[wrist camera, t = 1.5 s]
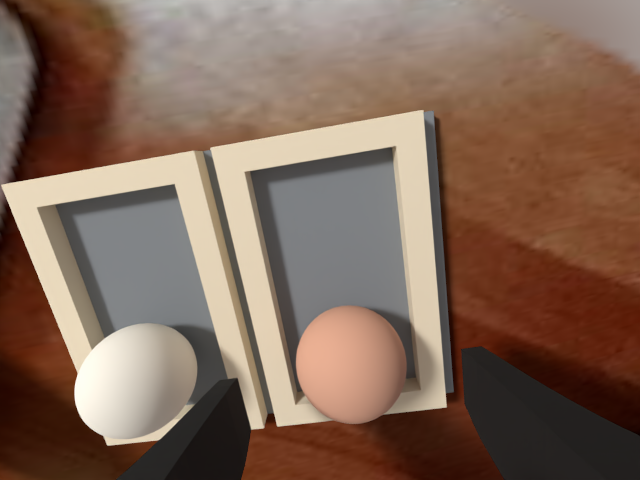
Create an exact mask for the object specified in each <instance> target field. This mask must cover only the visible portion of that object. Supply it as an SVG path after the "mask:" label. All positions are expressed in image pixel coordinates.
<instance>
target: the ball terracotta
mask: <svg viewBox="0 0 640 480" xmlns="http://www.w3.org/2000/svg"><path fill="white" fill-rule="evenodd" d="M296 369H297V376H298V380H299V383H300V386H301V388H302V390H303V393H304V394H305V396H306V397H307V399H308V400H309V402H310V403H311V404H312V405H313V406H314V407H315V408H316V409H317V410H318V411H319V412H320V413H322V414H323V415H325V416H326V417H328V418H330V419H333V420H335V421H338V422H342V423H347V424H360V423H365V422H369V421H372V420H374V419H376V418H378V417H380V416H381V415H383V414H384V413H386V412H387V411H388V410H389V409H390V408H391V407H392V406H393V404H394V403H395V402H396V401H397V399H398V397H399V396H400V394H401V391H402V389H403V387H404V383H405V379H406V371H407V363H406V355H405V350H404V347H403V344H402V341H401V340H400V338H399V336H398V334H397V332H396V331H395V329H394V328H393V327H392V326H391V324H390V323H389V322H388V321H387V320H386V319H384V318H383V317H382V316H381V315H379V314H377V313H376V312H374V311H372V310H370V309H367V308H364V307H360V306H351V305H347V306H339V307H335V308H332V309H329V310H327V311H325V312H323V313H322V314H320V315H319V316H318V317H316V318H315V319H314V320H313V321H312V322H311V323H310V324H309V325H308V327H307V328H306V330H305V331H304V333H303V335H302V337H301V339H300V342H299V345H298V349H297V355H296Z"/></svg>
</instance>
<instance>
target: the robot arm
mask: <svg viewBox="0 0 640 480" xmlns="http://www.w3.org/2000/svg"><path fill="white" fill-rule="evenodd" d="M461 351H462V368H463V384H464V401H465V406H466V408H467V410H468V412H469V415H470V417H471V419H472V422H473V424H474V426H475V428H476V430H477V432H478V434H479V437H480V439H481V440H482V442H483V444H484V446H485V447H486V449H487V451H488V453H489V454H490V456H491V458H492V459H493V461H494V463H495V465H496V466H497V468H498V470H499V471H500V473H501V475H502V476H503V478H504V480H640V436H639V435H637V434H635V433H633V432H631V431H629V430H627V429H624V428H622V427H620V426H618V425H616V424H614V423H612V422H610V421H608V420H606V419H604V418H602V417H600V416H599V415H597V414H595V413H593V412H591V411H589V410H587V409H586V408H584V407H582V406H580V405H578V404H576V403H575V402H573V401H571V400H569V399H567V398H566V397H564V396H562V395H560V394H559V393H557V392H555V391H553V390H552V389H550V388H548V387H547V386H545V385H543V384H542V383H540V382H538V381H537V380H535V379H533V378H532V377H530V376H528V375H527V374H525V373H523V372H522V371H520V370H519V369H517V368H515V367H514V366H512V365H511V364H509V363H507V362H506V361H504V360H503V359H501V358H500V357H498V356H496V355H495V354H493V353H492V352H490V351H488V350H487V349H485V348H483V347H473V348H466V349H461ZM250 433H251V426H250V423H249V419H248V415H247V411H246V408H245V404H244V400H243V396H242V393H241V389H240V385H239V381H238V378H231V379H224V380H219V381H218V382H217V383H216V384H215V385H214V386H213V387H212V388H211V389H210V390H209V391H208V392H207V393H206V394H205V395H204V396H203V397H202V398H201V399H200V400H199V401H198V402H197V403H196V404H195V405H194V406H193V407H192V408H191V409H190V410H189V411H188V412H187V413H186V414H185V415H184V416H183V417H182V418H181V419H180V420H179V421H178V422H177V423H176V424H175V425H174V426H173V427H172V428H171V429H170V430H169V431H168V432H167V433H166V434H165V435H164V436H163V437H162V438H161V439H160V440H159V441H158V442H157V443H156V444H155V445H154V446H152V447H151V448H150V449H149V450H148V451H147V452H146V453H145V454H144V455H143V456H142V457H141V458H140V459H139V460H138V461H137V462H136V463H134V464H133V465H132V466H131V467H130V468H129V469H128V470H127V471H125V472H124V473H123V474H122V475H121V476H120V477H118V478H117V479H116V480H241V477H242V474H243V470H244V466H245V462H246V457H247V451H248V445H249V439H250Z"/></svg>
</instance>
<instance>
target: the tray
mask: <svg viewBox="0 0 640 480" xmlns="http://www.w3.org/2000/svg"><path fill="white" fill-rule="evenodd" d="M210 149H211V150H208V151H189V152H184V153H178V154H172V155H167V156H161V157H156V158H150V159H144V160H139V161H133V162H127V163H122V164H116V165H111V166H105V167H99V168H94V169H88V170H82V171H77V172H71V173H66V174H60V175H54V176H49V177H43V178H37V179H32V180H26V181H21V182H15V183H9V184H4V185H1V186H2V188H3V191H4V193H5V196H6V198H7V201H8V203H9V206H10V208H11V210H12V213H13V215H14V218H15V220H16V223H17V225H18V228H19V230H20V233H21V235H22V237H23V240H24V242H25V245H26V247H27V250H28V252H29V255H30V257H31V260H32V262H33V264H34V267H35V269H36V272H37V274H38V277H39V279H40V282H41V284H42V287H43V289H44V291H45V294H46V296H47V299H48V301H49V304H50V306H51V309H52V311H53V314H54V316H55V318H56V321H57V323H58V326H59V328H60V331H61V333H62V336H63V338H64V341H65V343H66V345H67V348H68V350H69V353H70V355H71V358H72V360H73V363H74V365H75V368H76V370H77V372H78V373H79V370H80V368H81V366H82V364H83V362H84V360H85V359H86V357H87V356H88V355H89V353H90V352H91V351H92V350H93V349H94V348H95V346H96V345H97V344H99V343H100V342H101V341H102V340H103V339H105V338H106V337H108V336H109V335H111V334H112V333H114V332H116V331H118V330H120V329H122V328H125V327H128V326H131V325H136V324H143V323H155V324H161V325H165V326H168V327H170V328H173V329H175V330H176V331H178V332H179V333H181V334H182V335H183V336H184V337H185V338H186V339H187V340H188V341H189V343H190V344H191V346H192V348H193V350H194V353H195V356H196V360H197V379H196V383H195V387H194V390H193V392H192V395H191V397H190V398H189V400H188V402H187V404H186V405H185V406H184V408H183V409H182V410H181V412H180V413H179V414H178V415H177V416H176V417H175V418H174V419H173V420H172V421H170V422H169V423H168V424H166V425H165V426H163V427H162V428H160V429H159V430H157V431H155V432H153V433H151V434H148V435H145V436H142V437H138V438H133V439H113V438H109V437H106V436H104V439H105V441H106V444H107V446H110V445H119V444H128V443H137V442H146V441H154V440H160V439H161V438H162V437H163V436H164V435H165V434H166V433H167V432H168V431H169V430H170V429H171V428H172V427H173V426H174V425H175V424H176V423H177V422H178V421H179V420H180V419H181V418H182V417H183V416H184V415H185V414H186V413H187V412H188V411H189V410H190V409H191V408H192V407H193V406H194V405H195V404H196V403H197V402H198V401H199V400H200V399H201V398H202V397H203V396H204V395H205V394H206V393H207V392H208V391H209V390H210V389H211V388H212V387H213V386H214V385H215V384H216V383H217V382H218V381H219V380H224V379H231V378H238V381H239V385H240V389H241V393H242V396H243V400H244V404H245V408H246V411H247V415H248V419H249V423H250V426H251V430H252V429H260V428H264V426H265V422H266V418H267V414H271V413H274V415H275V419H276V423H277V427H278V426H287V425H296V424H305V423H314V422H322V421H331V420H333V419H330V418H328V417H326V416H325V415H323V414H322V413H320V412H319V411H318V410H317V409H316V408H315V407H314V406H313V405H312V404H311V403H310V402H309V400H308V399H307V397H306V396H305V394H304V393H303V390H302V388H301V386H300V383H299V380H298V376H297V369H296V355H297V349H298V345H299V342H300V339H301V337H302V335H303V333H304V331H305V330H306V328H307V327H308V325H309V324H310V323H311V322H312V321H313V320H314V319H315V318H316V317H318V316H319V315H320V314H322V313H323V312H325V311H327V310H329V309H332V308H335V307H339V306H347V305H351V306H360V307H364V308H367V309H370V310H372V311H374V312H376V313H377V314H379V315H381V316H382V317H383V318H384V319H386V320H387V321H388V322H389V323H390V324H391V326H392V327H393V328H394V329H395V331H396V332H397V334H398V336H399V338H400V340H401V341H402V344H403V347H404V350H405V355H406V363H407V371H406V379H405V383H404V387H403V389H402V391H401V394H400V396H399V397H398V399H397V401H396V402H395V403H394V404H393V406H392V407H391V408H390V409H389V410H388V411H387V412H386V413H384V414H393V413H402V412H411V411H420V410H429V409H437V408H446V407H447V405H446V393H451V392H454V390H453V376H452V362H451V348H450V334H449V320H448V306H447V292H446V278H445V264H444V250H443V236H442V222H441V209H440V195H439V181H438V167H437V153H436V139H435V125H434V111H428V112H423V110H420V111H414V112H409V113H403V114H397V115H392V116H386V117H381V118H375V119H369V120H364V121H358V122H352V123H347V124H341V125H336V126H330V127H324V128H319V129H313V130H307V131H302V132H296V133H291V134H285V135H279V136H274V137H268V138H262V139H257V140H251V141H246V142H240V143H234V144H229V145H223V146H217V147H212V148H210ZM384 414H383V415H384Z"/></svg>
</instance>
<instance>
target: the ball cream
mask: <svg viewBox="0 0 640 480" xmlns="http://www.w3.org/2000/svg"><path fill="white" fill-rule="evenodd" d="M196 379H197V360H196V356H195V353H194V350H193V348H192V346H191V344H190V343H189V341H188V340H187V339H186V338H185V337H184V336H183V335H182V334H181V333H179V332H178V331H176V330H175V329H173V328H170V327H168V326H165V325H161V324H155V323H143V324H136V325H131V326H128V327H125V328H122V329H120V330H118V331H116V332H114V333H112V334H111V335H109V336H108V337H106V338H105V339H103V340H102V341H101V342H100V343H99V344H97V345H96V346H95V348H94V349H93V350H92V351H91V352H90V353H89V355H88V356H87V357H86V359H85V360H84V362H83V364H82V366H81V368H80V370H79V373H78V376H77V379H76V383H75V403H76V407H77V410H78V412H79V414H80V416H81V418H82V420H83V421H84V422H85V424H86V425H87V426H88V427H90V428H91V429H92V430H94V431H95V432H96V433H98V434H100V435H103V436H106V437H109V438H113V439H133V438H138V437H142V436H145V435H148V434H151V433H153V432H155V431H157V430H159V429H160V428H162V427H163V426H165V425H166V424H168V423H169V422H170V421H172V420H173V419H174V418H175V417H176V416H177V415H178V414H179V413H180V412H181V410H182V409H183V408H184V406H185V405H186V404H187V402H188V400H189V398H190V397H191V395H192V392H193V390H194V387H195V383H196Z"/></svg>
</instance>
